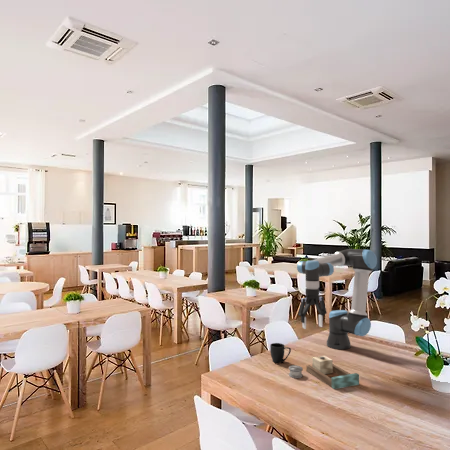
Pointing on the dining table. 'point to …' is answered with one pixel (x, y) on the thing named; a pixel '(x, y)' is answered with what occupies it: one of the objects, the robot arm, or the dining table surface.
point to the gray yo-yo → (295, 371)
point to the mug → (278, 352)
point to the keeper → (323, 364)
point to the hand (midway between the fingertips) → (312, 327)
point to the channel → (338, 381)
